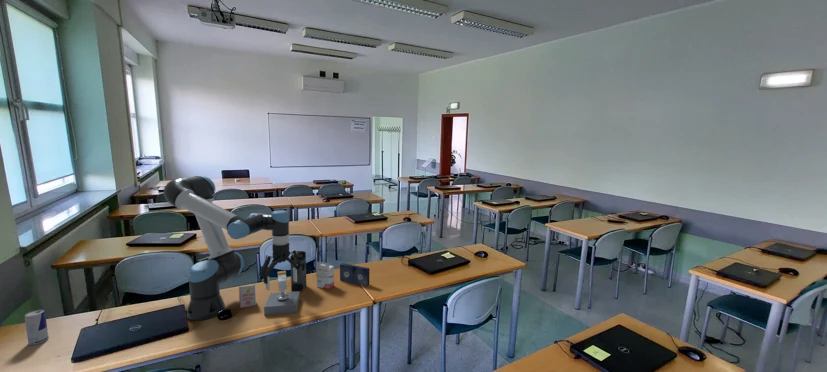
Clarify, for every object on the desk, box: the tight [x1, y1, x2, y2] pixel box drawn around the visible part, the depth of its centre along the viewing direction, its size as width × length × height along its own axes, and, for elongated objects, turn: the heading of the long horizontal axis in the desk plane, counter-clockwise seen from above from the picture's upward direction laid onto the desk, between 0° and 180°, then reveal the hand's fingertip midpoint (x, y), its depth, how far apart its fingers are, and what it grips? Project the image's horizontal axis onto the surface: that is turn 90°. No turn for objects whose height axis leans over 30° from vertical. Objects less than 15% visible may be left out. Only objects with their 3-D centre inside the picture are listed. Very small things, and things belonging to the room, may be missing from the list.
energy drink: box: [24, 309, 49, 346], centre depth 130 cm, size 5×5×12 cm
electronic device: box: [289, 250, 307, 293], centre depth 181 cm, size 9×6×20 cm, turn 179°
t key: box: [277, 270, 288, 300], centre depth 161 cm, size 11×5×12 cm, turn 23°
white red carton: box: [238, 284, 257, 309], centre depth 162 cm, size 4×7×10 cm, turn 113°
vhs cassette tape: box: [339, 262, 370, 287], centre depth 191 cm, size 18×3×10 cm, turn 68°
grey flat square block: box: [263, 291, 301, 316], centre depth 162 cm, size 14×14×4 cm
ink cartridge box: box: [315, 261, 335, 290], centre depth 185 cm, size 9×5×15 cm, turn 73°
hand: (281, 285), depth 161 cm, fingers open, 13 cm apart
